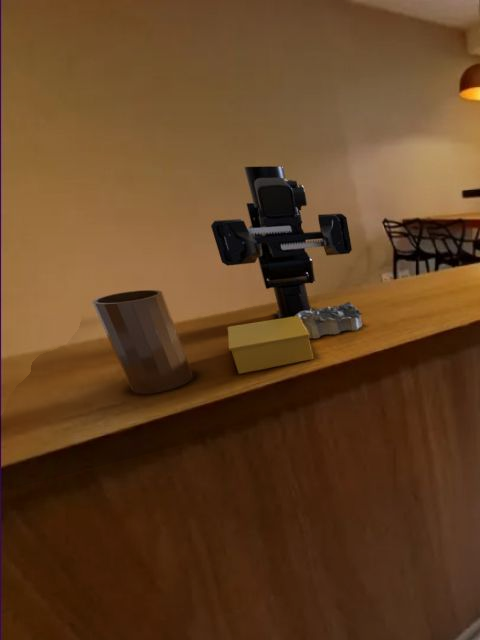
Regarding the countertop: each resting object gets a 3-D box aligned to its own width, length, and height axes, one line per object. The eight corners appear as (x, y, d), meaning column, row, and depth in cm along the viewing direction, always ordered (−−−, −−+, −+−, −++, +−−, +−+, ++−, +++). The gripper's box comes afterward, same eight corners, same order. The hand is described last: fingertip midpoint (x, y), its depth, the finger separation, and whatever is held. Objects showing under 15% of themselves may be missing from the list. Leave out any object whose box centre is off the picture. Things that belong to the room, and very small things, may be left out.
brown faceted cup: (136, 379, 61) (99, 294, 56) (193, 368, 64) (164, 287, 59) (128, 398, 56) (86, 307, 51) (191, 385, 59) (158, 298, 54)
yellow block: (235, 350, 71) (227, 326, 69) (304, 338, 76) (298, 315, 74) (237, 374, 62) (228, 348, 60) (315, 359, 67) (309, 334, 65)
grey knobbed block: (303, 341, 74) (298, 318, 72) (295, 330, 80) (290, 308, 78) (366, 329, 79) (362, 307, 78) (354, 319, 85) (350, 298, 83)
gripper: (200, 182, 66) (195, 183, 54) (329, 179, 75) (350, 179, 63) (222, 258, 71) (223, 274, 59) (341, 247, 79) (363, 259, 67)
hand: (293, 244), depth 62 cm, fingers open, 9 cm apart
